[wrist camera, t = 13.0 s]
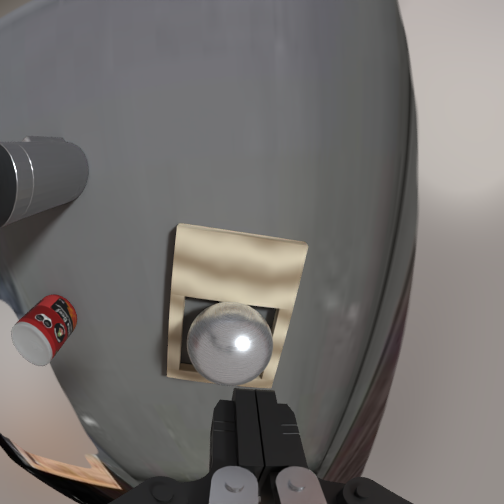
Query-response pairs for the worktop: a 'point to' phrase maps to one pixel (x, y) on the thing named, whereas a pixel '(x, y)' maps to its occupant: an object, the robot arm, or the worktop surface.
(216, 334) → the ball
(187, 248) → the hole board
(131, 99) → the worktop surface
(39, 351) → the canned food
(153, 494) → the robot arm
